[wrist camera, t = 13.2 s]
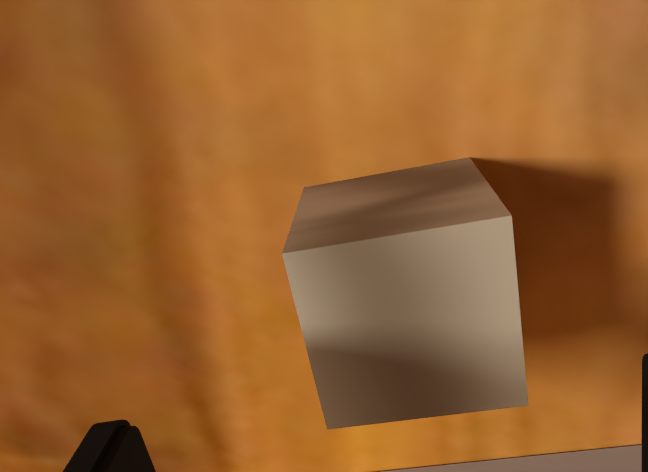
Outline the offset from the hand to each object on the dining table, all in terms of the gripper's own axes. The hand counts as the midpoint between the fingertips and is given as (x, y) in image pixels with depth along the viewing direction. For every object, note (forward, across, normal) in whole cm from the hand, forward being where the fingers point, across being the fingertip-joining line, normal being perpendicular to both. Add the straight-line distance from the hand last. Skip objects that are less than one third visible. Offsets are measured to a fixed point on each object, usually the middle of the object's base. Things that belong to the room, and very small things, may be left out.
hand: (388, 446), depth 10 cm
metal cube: (+8, -1, 0) cm, 8 cm away
